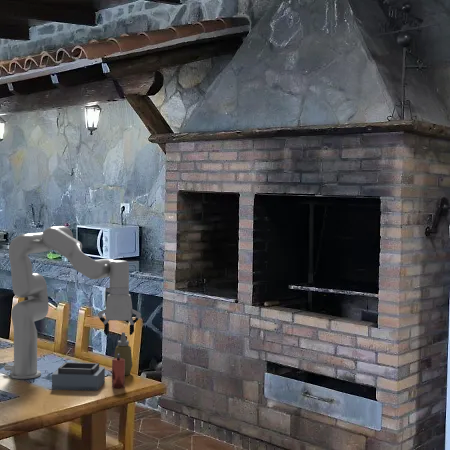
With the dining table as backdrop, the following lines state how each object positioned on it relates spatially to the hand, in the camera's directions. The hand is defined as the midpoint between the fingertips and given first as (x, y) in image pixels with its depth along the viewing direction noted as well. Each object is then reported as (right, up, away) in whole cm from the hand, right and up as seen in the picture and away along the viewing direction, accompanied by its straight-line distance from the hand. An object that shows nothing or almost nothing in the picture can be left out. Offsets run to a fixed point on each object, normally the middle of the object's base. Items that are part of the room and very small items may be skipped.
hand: (119, 334), depth 282 cm
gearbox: (-17, -21, +2) cm, 27 cm away
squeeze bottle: (-1, -21, +20) cm, 29 cm away
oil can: (-1, -21, +1) cm, 21 cm away
